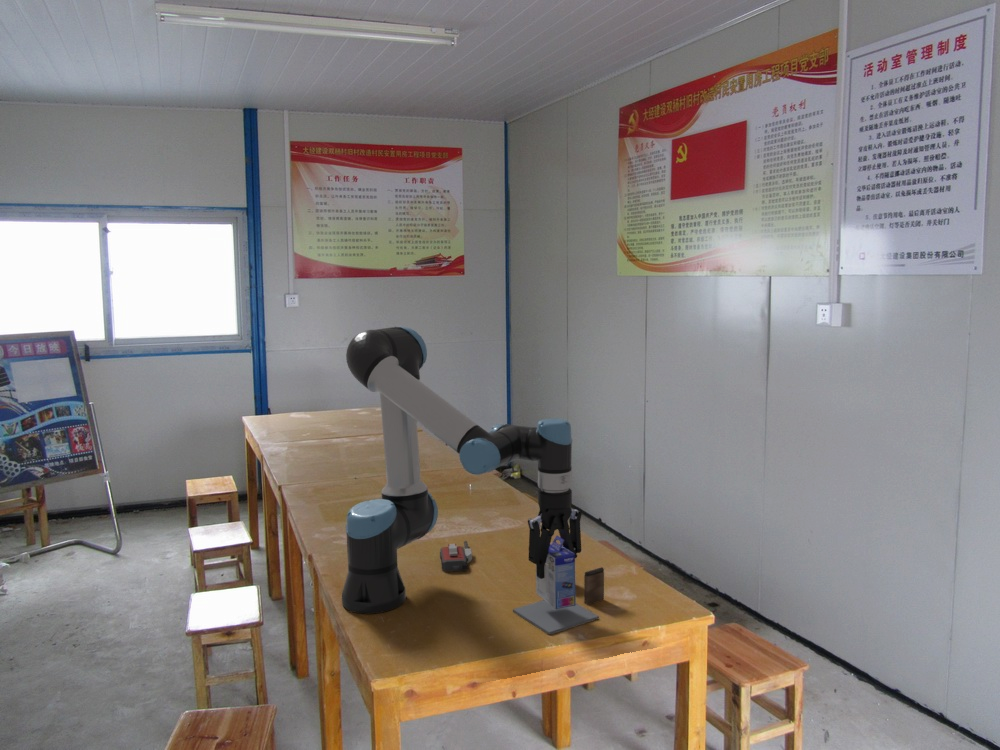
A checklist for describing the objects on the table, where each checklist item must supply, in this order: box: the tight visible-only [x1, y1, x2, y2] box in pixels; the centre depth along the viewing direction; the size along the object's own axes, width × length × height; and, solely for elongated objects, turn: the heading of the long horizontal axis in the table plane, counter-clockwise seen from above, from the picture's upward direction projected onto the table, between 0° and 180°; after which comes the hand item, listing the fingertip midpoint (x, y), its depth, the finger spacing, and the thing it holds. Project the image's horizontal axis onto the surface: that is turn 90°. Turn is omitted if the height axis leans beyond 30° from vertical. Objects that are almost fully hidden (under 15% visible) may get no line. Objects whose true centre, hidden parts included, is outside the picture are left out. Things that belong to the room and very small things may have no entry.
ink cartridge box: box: [535, 535, 577, 609], centre depth 174 cm, size 10×6×14 cm, turn 24°
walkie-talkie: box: [439, 540, 473, 573], centre depth 211 cm, size 9×4×20 cm
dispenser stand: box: [583, 567, 605, 606], centre depth 187 cm, size 5×14×8 cm, turn 33°
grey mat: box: [512, 599, 600, 636], centre depth 175 cm, size 14×14×1 cm
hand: (555, 587), depth 174 cm, fingers closed on ink cartridge box, 6 cm apart
